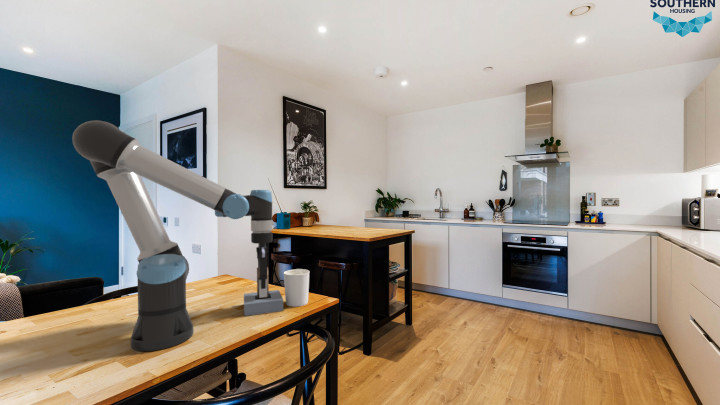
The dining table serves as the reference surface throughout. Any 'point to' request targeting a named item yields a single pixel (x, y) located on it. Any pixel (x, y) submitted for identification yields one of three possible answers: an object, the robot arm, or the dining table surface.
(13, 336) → the dining table surface
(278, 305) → the socket block
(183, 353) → the dining table surface
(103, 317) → the dining table surface
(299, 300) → the candle holder
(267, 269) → the peg
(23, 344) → the dining table surface
